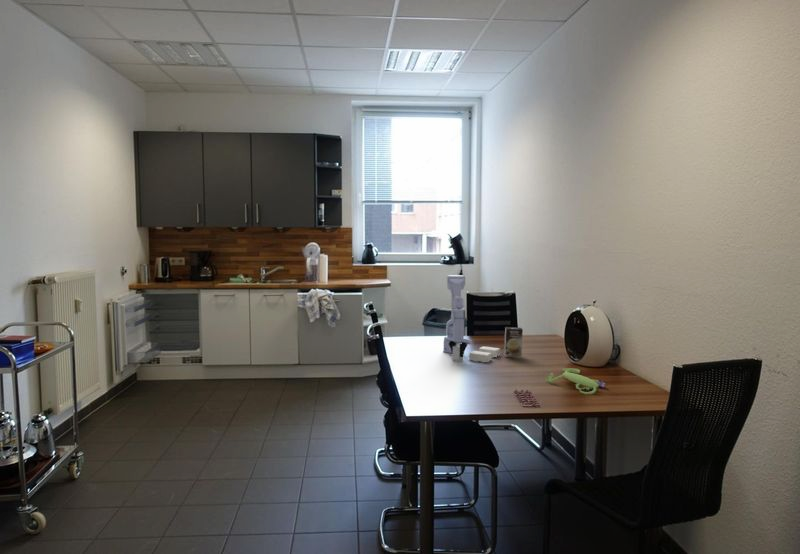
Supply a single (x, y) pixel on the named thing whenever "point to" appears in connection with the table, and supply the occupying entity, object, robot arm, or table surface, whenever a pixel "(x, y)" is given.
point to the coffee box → (513, 342)
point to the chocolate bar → (526, 398)
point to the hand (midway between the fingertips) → (457, 356)
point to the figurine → (578, 380)
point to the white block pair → (484, 354)
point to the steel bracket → (456, 353)
